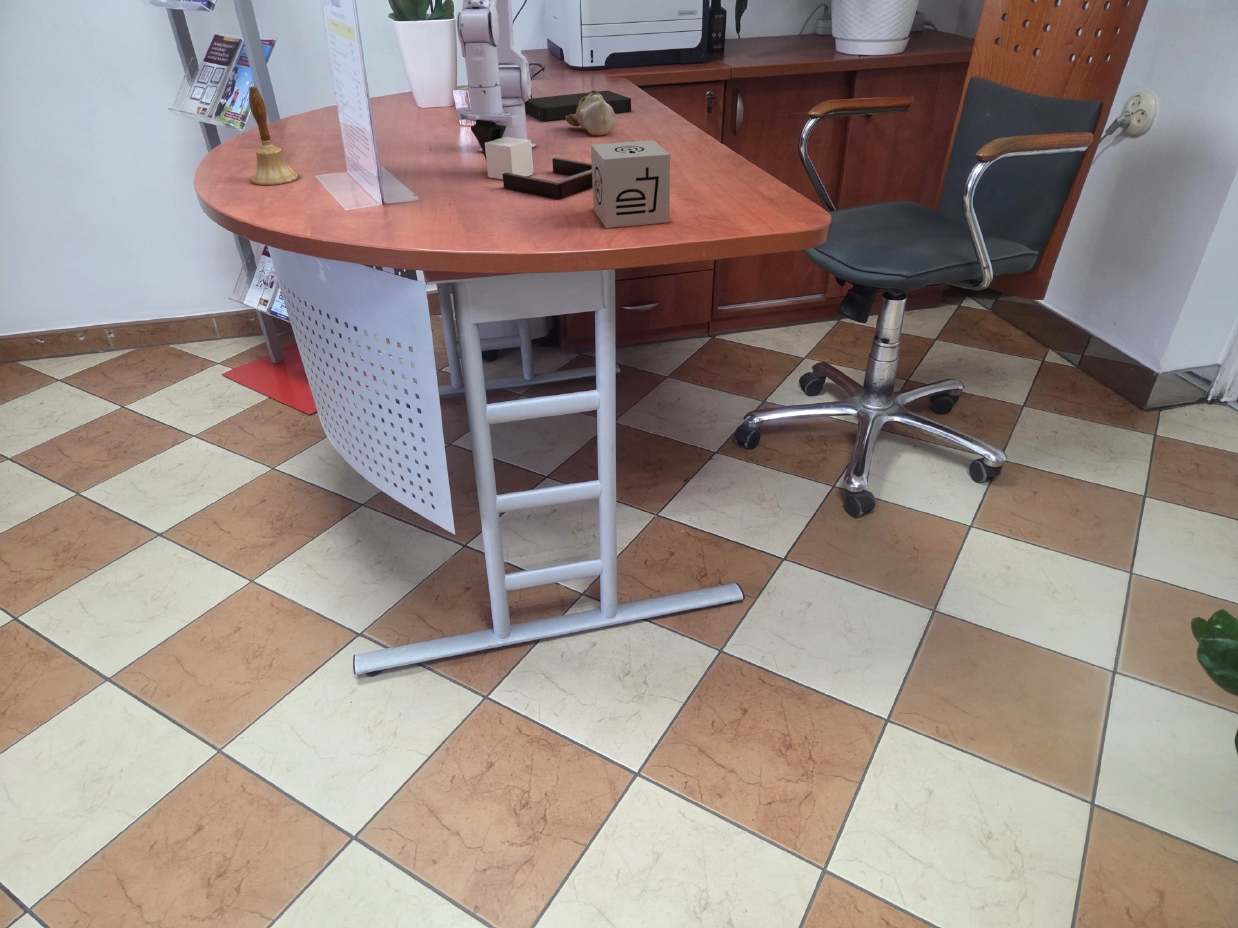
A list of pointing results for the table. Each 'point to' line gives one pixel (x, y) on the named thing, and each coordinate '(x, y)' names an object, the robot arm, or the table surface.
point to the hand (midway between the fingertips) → (492, 164)
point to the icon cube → (630, 183)
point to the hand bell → (268, 148)
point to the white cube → (509, 157)
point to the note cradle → (558, 189)
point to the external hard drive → (571, 105)
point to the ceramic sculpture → (593, 115)
